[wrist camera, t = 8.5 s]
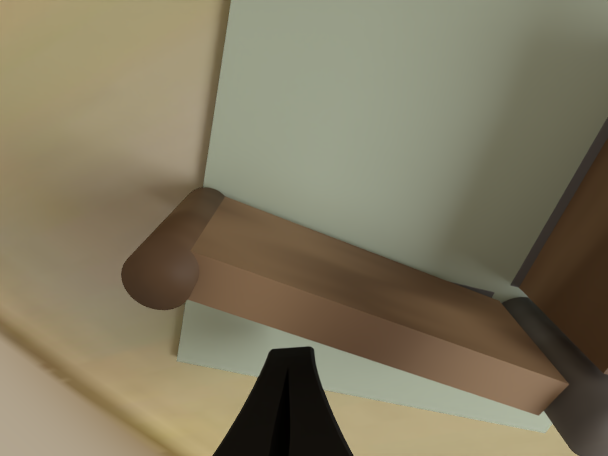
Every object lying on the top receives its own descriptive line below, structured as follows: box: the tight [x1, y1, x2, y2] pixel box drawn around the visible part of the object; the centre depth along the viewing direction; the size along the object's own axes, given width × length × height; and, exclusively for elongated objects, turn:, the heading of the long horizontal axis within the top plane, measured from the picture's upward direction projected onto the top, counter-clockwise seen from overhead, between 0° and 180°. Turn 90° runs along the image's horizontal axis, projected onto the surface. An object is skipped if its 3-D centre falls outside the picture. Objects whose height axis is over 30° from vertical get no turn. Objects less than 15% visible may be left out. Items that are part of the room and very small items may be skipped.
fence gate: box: [121, 187, 569, 416], centre depth 10 cm, size 11×1×4 cm, turn 68°
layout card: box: [177, 0, 608, 433], centre depth 11 cm, size 16×15×1 cm
